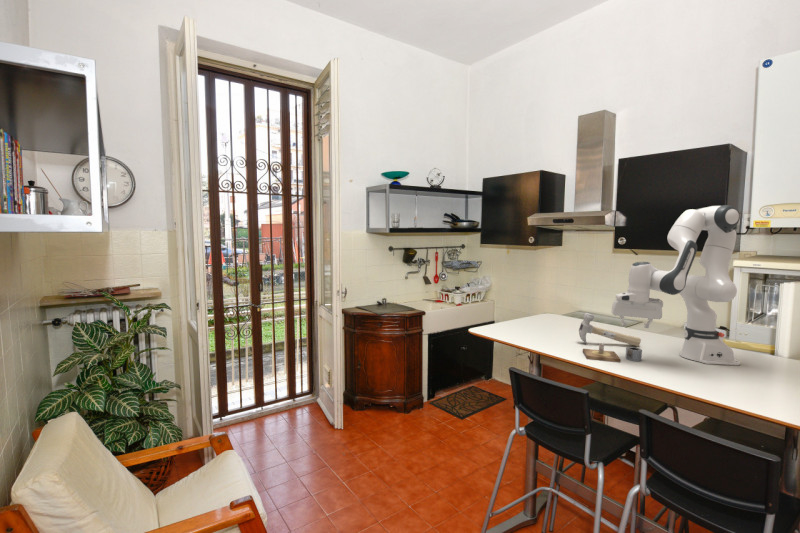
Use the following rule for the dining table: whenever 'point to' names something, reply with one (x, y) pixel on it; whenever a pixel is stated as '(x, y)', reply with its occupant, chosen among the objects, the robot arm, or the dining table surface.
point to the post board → (601, 354)
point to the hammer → (604, 332)
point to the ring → (633, 354)
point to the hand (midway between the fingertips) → (635, 326)
